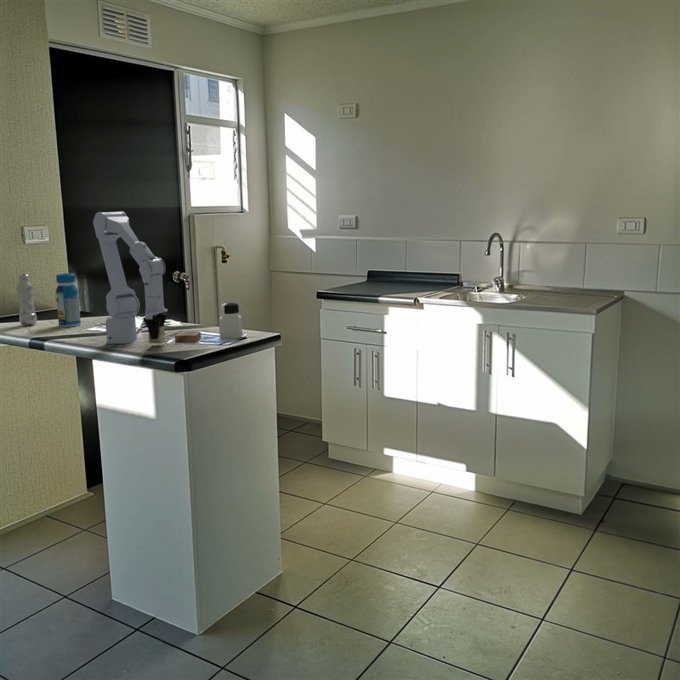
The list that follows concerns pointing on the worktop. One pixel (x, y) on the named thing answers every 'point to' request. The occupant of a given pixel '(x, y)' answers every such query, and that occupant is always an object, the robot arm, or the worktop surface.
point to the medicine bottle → (230, 321)
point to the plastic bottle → (26, 301)
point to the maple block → (160, 338)
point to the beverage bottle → (67, 301)
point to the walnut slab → (187, 337)
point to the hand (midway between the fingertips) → (156, 337)
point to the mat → (186, 343)
